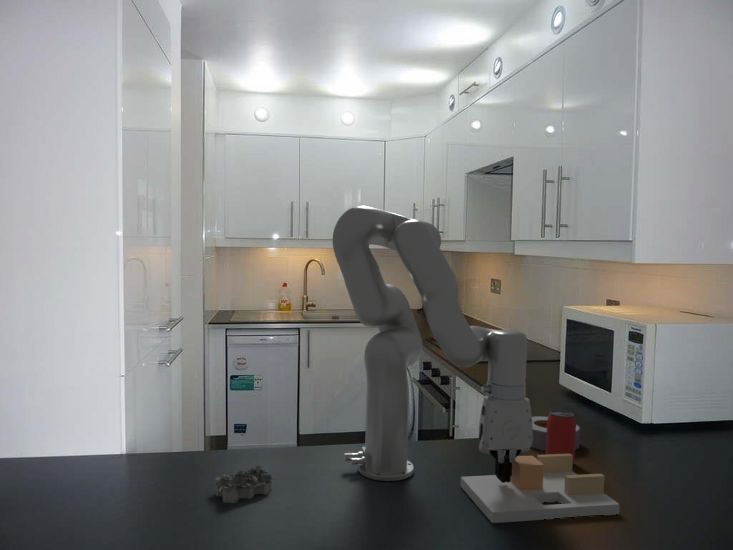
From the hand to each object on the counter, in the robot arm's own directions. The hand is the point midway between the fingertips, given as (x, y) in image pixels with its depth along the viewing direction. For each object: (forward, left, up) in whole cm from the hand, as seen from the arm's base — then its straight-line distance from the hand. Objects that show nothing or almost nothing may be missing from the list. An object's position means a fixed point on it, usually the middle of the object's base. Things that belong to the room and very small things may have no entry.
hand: (503, 479), depth 110 cm
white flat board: (+6, -3, -3) cm, 7 cm away
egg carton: (-52, +8, -4) cm, 53 cm away
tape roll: (+27, +29, -4) cm, 40 cm away
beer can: (+22, +15, -3) cm, 27 cm away
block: (+5, 0, -1) cm, 5 cm away
